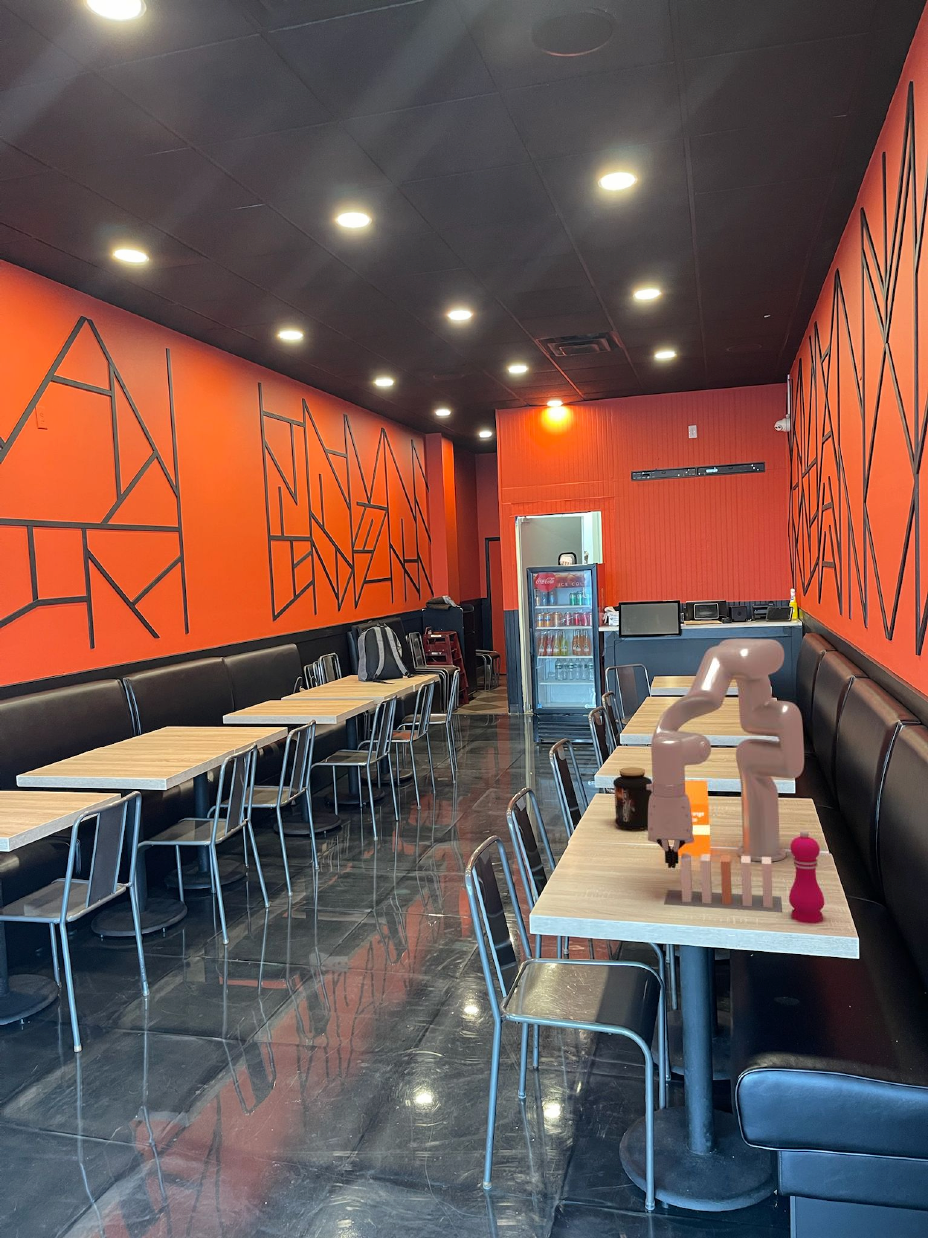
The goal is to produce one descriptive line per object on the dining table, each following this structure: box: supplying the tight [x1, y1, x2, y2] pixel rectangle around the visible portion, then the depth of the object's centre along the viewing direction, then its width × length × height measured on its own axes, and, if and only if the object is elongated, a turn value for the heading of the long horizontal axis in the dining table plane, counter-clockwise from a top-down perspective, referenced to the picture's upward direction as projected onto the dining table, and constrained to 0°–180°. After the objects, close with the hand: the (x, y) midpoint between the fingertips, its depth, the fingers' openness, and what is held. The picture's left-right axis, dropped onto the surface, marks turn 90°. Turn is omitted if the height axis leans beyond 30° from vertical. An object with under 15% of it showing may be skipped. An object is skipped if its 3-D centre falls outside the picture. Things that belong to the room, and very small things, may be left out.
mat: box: [663, 889, 784, 913], centre depth 203 cm, size 10×26×1 cm, turn 72°
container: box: [612, 766, 653, 831], centre depth 269 cm, size 12×12×18 cm
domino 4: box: [740, 856, 753, 906], centre depth 201 cm, size 2×5×10 cm, turn 162°
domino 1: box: [680, 853, 693, 902], centre depth 206 cm, size 2×5×10 cm, turn 162°
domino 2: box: [700, 853, 713, 903], centre depth 204 cm, size 2×5×10 cm, turn 162°
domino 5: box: [761, 857, 773, 908], centre depth 200 cm, size 2×5×10 cm, turn 162°
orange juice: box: [678, 780, 711, 857], centre depth 242 cm, size 8×9×20 cm
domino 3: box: [720, 854, 733, 905], centre depth 203 cm, size 2×5×10 cm, turn 162°
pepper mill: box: [788, 829, 825, 924], centre depth 191 cm, size 7×7×20 cm
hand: (672, 866), depth 207 cm, fingers closed
